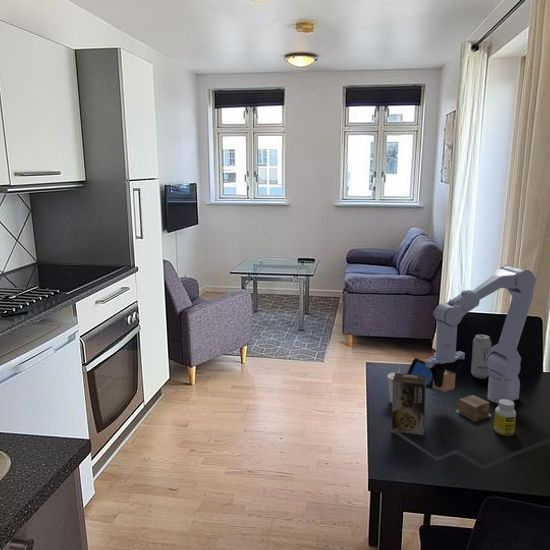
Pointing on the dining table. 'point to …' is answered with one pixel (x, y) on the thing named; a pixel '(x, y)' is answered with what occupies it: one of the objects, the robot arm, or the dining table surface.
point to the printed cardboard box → (408, 403)
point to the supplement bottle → (505, 418)
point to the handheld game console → (421, 371)
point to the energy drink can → (480, 356)
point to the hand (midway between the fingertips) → (444, 384)
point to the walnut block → (473, 407)
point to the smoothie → (391, 383)
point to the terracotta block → (447, 381)
